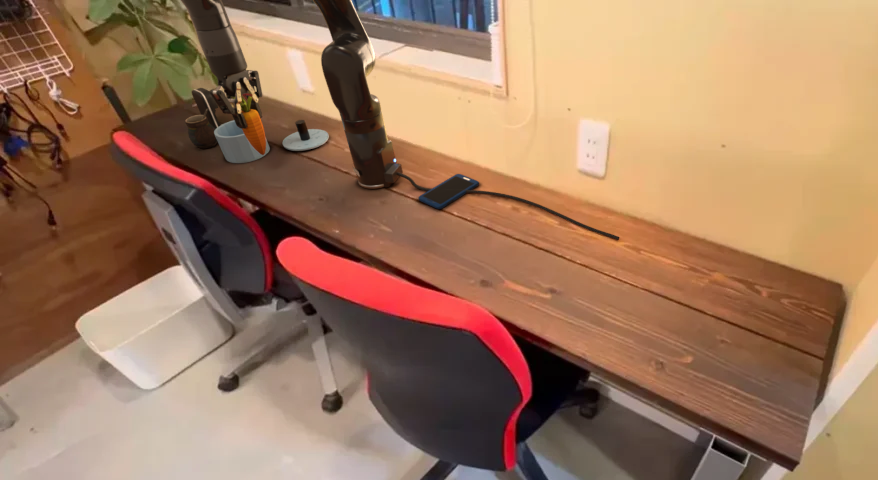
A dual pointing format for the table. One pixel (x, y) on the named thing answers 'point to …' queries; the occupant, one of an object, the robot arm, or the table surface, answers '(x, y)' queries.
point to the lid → (305, 138)
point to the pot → (236, 144)
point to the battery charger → (206, 105)
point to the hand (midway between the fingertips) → (250, 122)
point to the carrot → (253, 127)
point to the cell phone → (448, 191)
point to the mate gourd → (201, 131)
